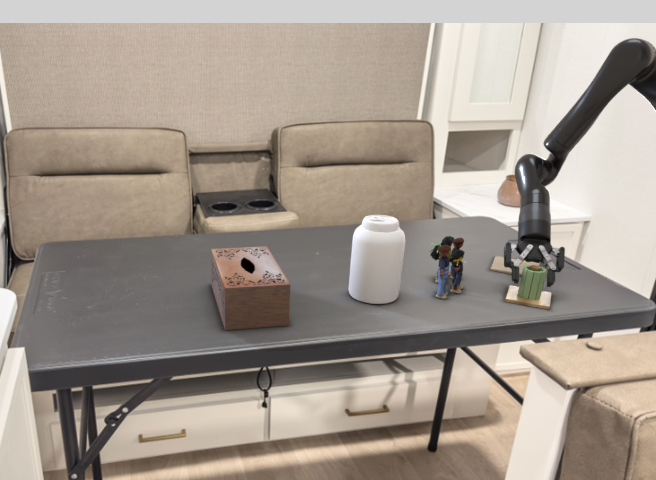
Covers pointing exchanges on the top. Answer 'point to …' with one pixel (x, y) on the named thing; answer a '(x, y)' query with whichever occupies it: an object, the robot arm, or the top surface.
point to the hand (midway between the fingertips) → (533, 284)
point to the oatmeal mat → (499, 267)
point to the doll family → (445, 257)
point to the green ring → (531, 283)
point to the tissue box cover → (249, 288)
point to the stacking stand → (539, 303)
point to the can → (377, 260)
